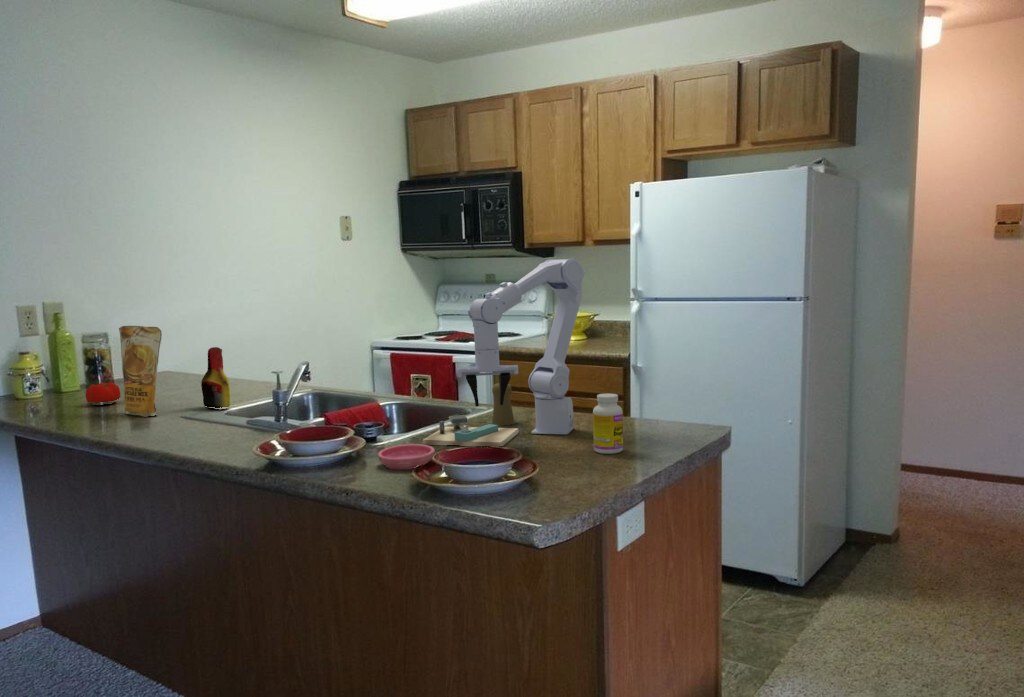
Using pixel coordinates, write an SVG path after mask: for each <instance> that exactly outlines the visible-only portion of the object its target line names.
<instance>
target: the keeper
mask: <svg viewBox="0 0 1024 697" xmlns="http://www.w3.org/2000/svg"><path fill="white" fill-rule="evenodd" d="M448 421H449V422H450V423H451V424H453V427H454V429H460V428H461V427H462V426H461V424H463V423H468V417H467V416H466V415H465V414H453V415H449V416H448ZM438 424H439V430H440V434H444V433H445V429H444V427H445V420H439V422H438Z"/></svg>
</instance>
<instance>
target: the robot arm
mask: <svg viewBox="0 0 1024 697" xmlns="http://www.w3.org/2000/svg"><path fill="white" fill-rule="evenodd" d="M584 276H585V270H584V269H583V267H582V265H581V263H580V261H579V260H578V259H575V258H572V257H571V258H567V259H566V258H564V259H561V258H560V259H553V258H549V259H547V260H545V261H544V262H542V263H539V264H538V266H536V267H535V268H534V269H533V270H531V271H529V273H527V274H526V275H524V276H523V277H521V278H520V279H519V280H518V281H516V282H515V283H514V282H510V281H509V282H506V281H505V282H501V283H499V287H498V288H496V289H495V290H493V291H491V292H487V293H485V296H484V298H477V299H474V300H473V301H472V302H471V305H470V307H469V310H467V315H468V317H469V319H470V320H471V322H472V327H473V338H474V339H473V340H474V341H473V342H474V357H475V358H474V360H475V362H474V363H475V366H467V367H458V368H456V370H457V371H456V373H457V374H456V375H457V376H456V377H457V378H462V377H465V378H466V379H465V380H466V382H467V384H468V385H469V387H470V390H471V393H472V395H473V399H474V404H475V407H479V406H480V403H479V397H478V395H479V394H478V380H477V377H479V376H480V377H481V376H495V375H497V376H498V381H499V382H498V383H499V386H500V396H499V401H500V405H503V401H504V395H505V391H506V388H507V386H508V384H510V380H511V378H512V376H511V375H519V366H518V364H513V365H512V364H509V365H508V364H507V365H505V364H502V365H500V346H499V324H498V322H500V320H501V318H502V317H503V314H504V313H506V312H508V311H509V310H511V309H512V308H514V307H516V306H517V305H518V304H520V303H521V302H522V298H523V295H525V294H526V293H529V292H531V290H534V289H535V288H537V287H539V286H541V285H542V284H544V283H546V284H547V285H548V286H549V288H551V290H552V291H553V292H554V293H555V294H556V296H557V297H558V303H557V306H556V310H555V313H554V317H553V321H552V324H551V328H550V332H549V335H548V340H547V343H546V347H545V350H544V354H543V357H542V358H540V359H539V360H538V361H537V362H536V363H535V365H534V369H533V370H532V371H531V373H530V374H529V376H528V379H527V381H528V383H527V384H528V387H529V390H530V391H531V392H533V393H532V394H533V397H534V408H535V409H534V412H535V415H534V416H535V428H534V429H532V431H531V432H530V433H531V434H532V435H533V434H534V435H535V434H539V435H540V434H541V435H542V434H543V435H569V434H570V433H571V432H572V430H574V428H575V426H574V404H573V399H572V398H571V397H565V395H566V394H567V392H568V390H569V388H570V386H569V385H570V383H569V382H570V379H569V376H570V372H571V371H570V368H569V367H568V366H567V364H566V362H565V361H566V358H567V355H568V351H569V348H570V343H571V339H572V335H573V331H574V327H575V324H576V320H577V317H578V313H579V309H580V305H581V302H582V297H583V292H582V291H583V290H582V287H583V286H582V284H583V279H584Z"/></svg>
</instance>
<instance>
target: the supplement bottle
mask: <svg viewBox="0 0 1024 697" xmlns="http://www.w3.org/2000/svg"><path fill="white" fill-rule="evenodd" d="M596 401H597V405H595V406H594V408H593V410H592V423H593V424H592V426H593V427H592V430H593V450H594V452H596V453H597V454H603V455H615V454H619V453H622V451H623V450H624V424H623V423H624V422H623V420H624V419H623V418H624V417H623V413H624V412H623V409H622V407H621V406H620V405H619V404H618V401H619V395H618V394H617V393H599V394H597V395H596Z"/></svg>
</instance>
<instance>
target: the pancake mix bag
mask: <svg viewBox="0 0 1024 697" xmlns="http://www.w3.org/2000/svg"><path fill="white" fill-rule="evenodd" d="M118 330H119V337H120V352H121V353H120V354H121V372H122V376H123V377H122V379H123V384H124V385H123V387H124V388H123V389H124V390H123V391H124V412H125V411H129V412H137V413H155V412H156V410H157V408H156V403H155V398H156V389H157V388H156V386H157V376H158V365H159V357H160V356H159V355H160V347H161V344H162V343H161V342H162V329H160V328H159V327H158V326H143V325H142V326H141V325H122V326H120V327H118Z"/></svg>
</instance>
